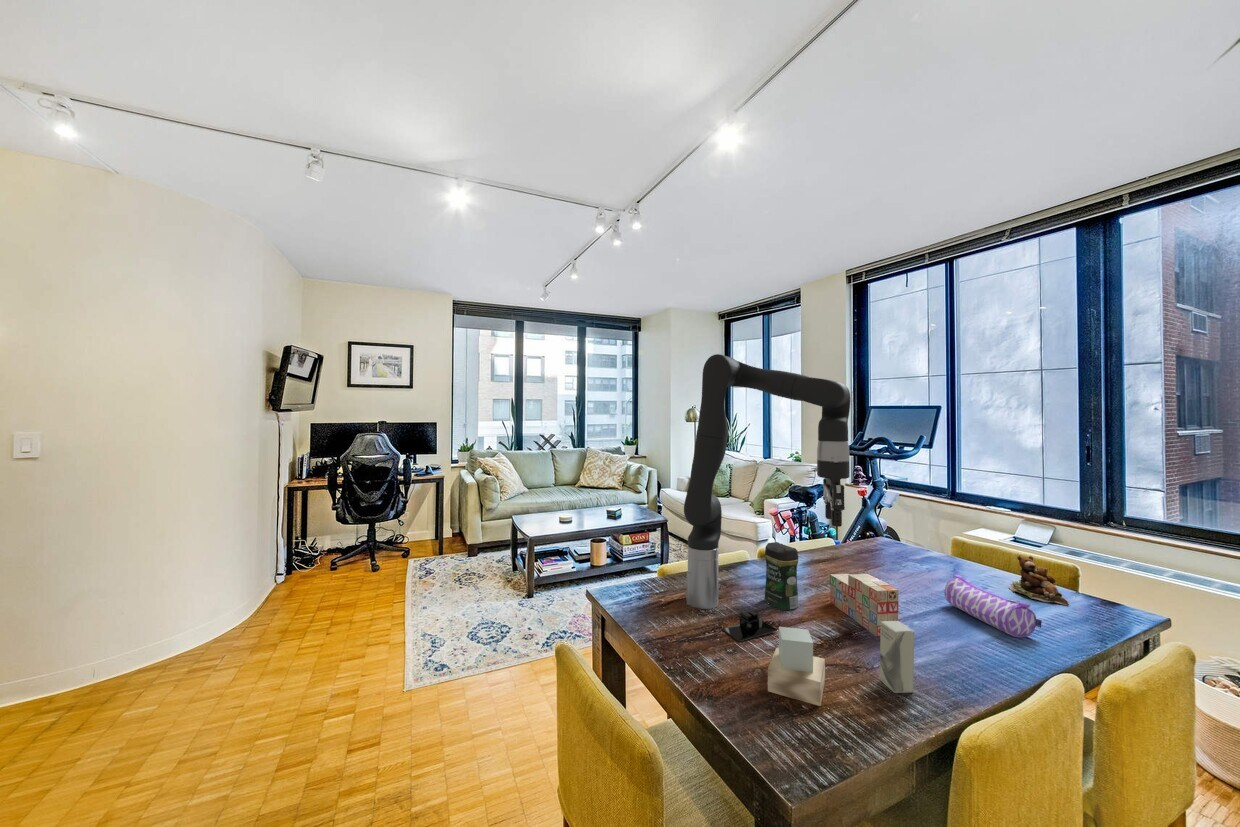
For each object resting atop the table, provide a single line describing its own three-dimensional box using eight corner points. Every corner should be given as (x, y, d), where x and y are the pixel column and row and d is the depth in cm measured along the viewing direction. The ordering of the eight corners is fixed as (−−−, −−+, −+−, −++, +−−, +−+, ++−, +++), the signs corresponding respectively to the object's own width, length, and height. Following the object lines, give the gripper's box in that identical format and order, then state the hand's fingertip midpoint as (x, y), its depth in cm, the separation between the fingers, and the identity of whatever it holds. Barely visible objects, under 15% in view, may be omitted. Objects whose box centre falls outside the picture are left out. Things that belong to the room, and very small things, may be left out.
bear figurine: (1023, 602, 142) (1023, 563, 142) (1002, 586, 156) (1002, 550, 156) (1080, 608, 137) (1079, 568, 137) (1052, 591, 151) (1052, 554, 151)
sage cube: (782, 668, 94) (782, 639, 94) (778, 654, 99) (778, 626, 99) (813, 672, 92) (813, 642, 92) (807, 657, 98) (807, 629, 98)
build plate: (739, 642, 114) (738, 623, 114) (721, 629, 121) (720, 612, 121) (777, 630, 119) (776, 613, 119) (758, 619, 126) (757, 602, 126)
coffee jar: (760, 601, 140) (760, 541, 141) (779, 598, 143) (779, 539, 144) (782, 614, 131) (782, 549, 132) (803, 609, 134) (803, 546, 135)
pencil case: (1043, 639, 117) (1042, 602, 117) (1012, 641, 116) (1011, 604, 116) (966, 605, 139) (966, 574, 139) (939, 606, 138) (939, 575, 138)
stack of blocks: (829, 604, 139) (829, 564, 139) (848, 603, 139) (848, 563, 140) (877, 637, 117) (876, 589, 118) (899, 636, 118) (899, 589, 118)
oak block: (767, 692, 94) (767, 668, 94) (776, 669, 102) (776, 647, 102) (820, 707, 89) (820, 682, 89) (824, 682, 97) (824, 658, 98)
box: (878, 680, 98) (878, 620, 98) (897, 679, 98) (897, 619, 98) (895, 694, 93) (895, 631, 93) (915, 693, 93) (915, 630, 93)
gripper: (813, 456, 124) (813, 516, 124) (821, 460, 110) (822, 527, 110) (843, 457, 122) (843, 517, 122) (855, 461, 108) (856, 529, 108)
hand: (833, 522), depth 116 cm, fingers open, 8 cm apart
